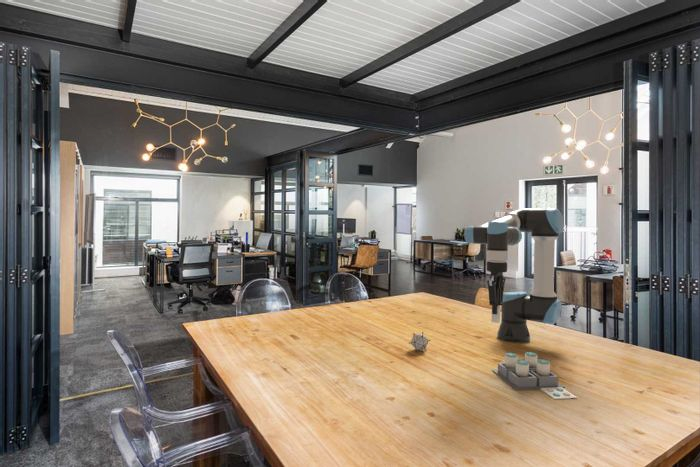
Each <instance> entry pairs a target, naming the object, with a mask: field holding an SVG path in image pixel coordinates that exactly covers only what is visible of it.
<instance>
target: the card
mask: <svg viewBox="0 0 700 467" xmlns="http://www.w3.org/2000/svg"><path fill="white" fill-rule="evenodd" d="M539 390H541V391H542V392H543V393H545V394H546V395H548V396H549V397H550V398H552V399H553V400H571V398H575V399H578V397H577V396H576V395H574V394H573V393H571V392H570V391H568V390H566V388H562V387H555V388H540V389H539Z"/></svg>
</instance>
